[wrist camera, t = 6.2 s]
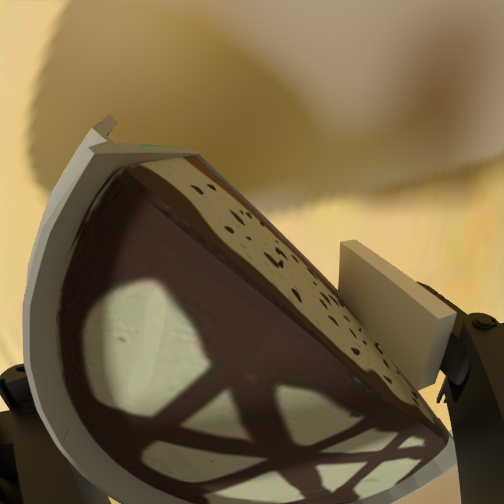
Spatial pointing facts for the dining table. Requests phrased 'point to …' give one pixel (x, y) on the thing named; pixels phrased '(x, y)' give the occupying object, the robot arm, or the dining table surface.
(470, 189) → the dining table surface
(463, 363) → the robot arm
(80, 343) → the food container
